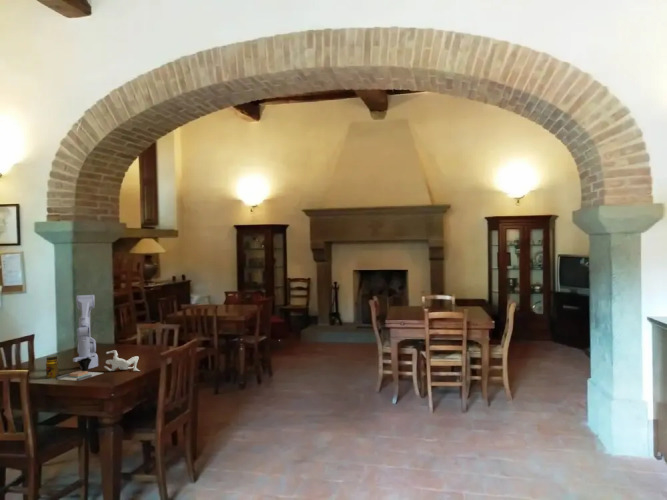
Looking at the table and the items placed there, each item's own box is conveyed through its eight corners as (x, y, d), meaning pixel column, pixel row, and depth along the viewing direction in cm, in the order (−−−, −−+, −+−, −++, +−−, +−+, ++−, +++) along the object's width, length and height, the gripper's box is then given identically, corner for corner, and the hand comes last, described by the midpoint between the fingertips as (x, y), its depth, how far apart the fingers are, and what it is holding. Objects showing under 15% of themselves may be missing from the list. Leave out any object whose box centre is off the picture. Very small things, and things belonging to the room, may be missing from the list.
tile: (79, 370, 296) (69, 373, 290) (87, 371, 294) (77, 373, 288) (79, 374, 296) (69, 377, 290) (87, 374, 294) (78, 377, 288)
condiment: (43, 380, 287) (42, 358, 287) (49, 377, 295) (48, 355, 295) (57, 379, 288) (57, 357, 288) (63, 376, 296) (62, 354, 296)
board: (82, 372, 303) (82, 369, 303) (104, 374, 298) (104, 371, 298) (56, 380, 286) (55, 377, 286) (78, 382, 281) (78, 378, 281)
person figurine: (138, 349, 312) (106, 348, 302) (143, 357, 302) (111, 356, 292) (133, 370, 313) (102, 369, 303) (139, 379, 303) (106, 378, 293)
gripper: (79, 350, 288) (80, 375, 288) (99, 346, 302) (100, 369, 302) (69, 350, 290) (70, 374, 290) (89, 345, 304) (90, 369, 304)
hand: (85, 372), depth 296 cm, fingers closed
